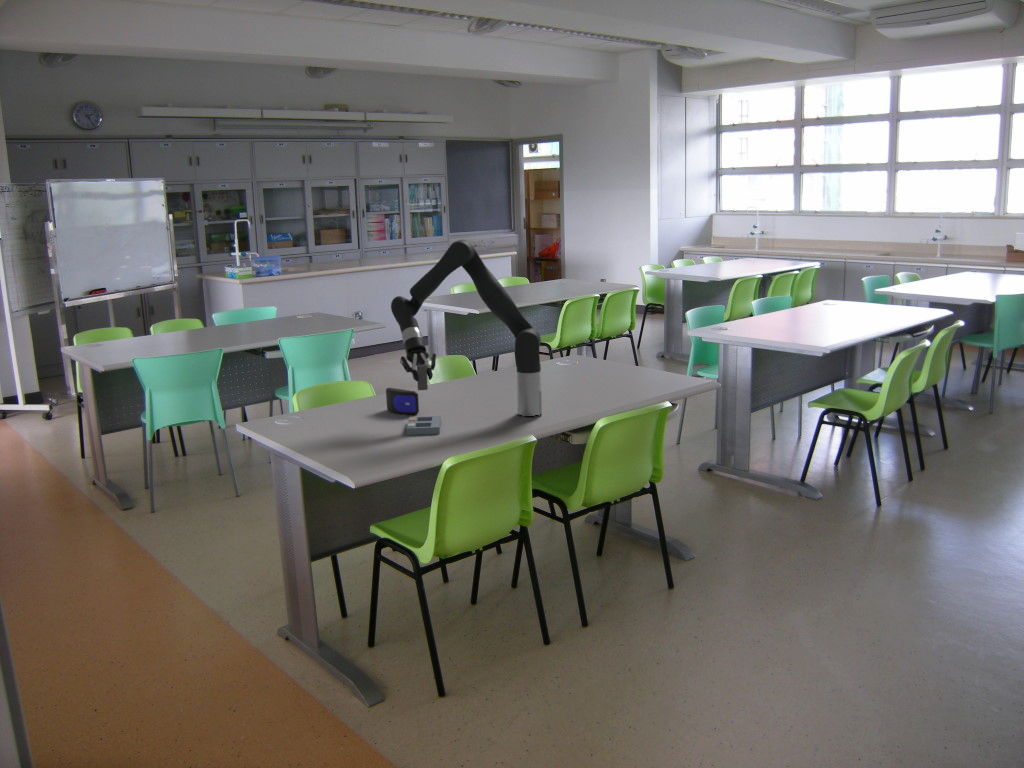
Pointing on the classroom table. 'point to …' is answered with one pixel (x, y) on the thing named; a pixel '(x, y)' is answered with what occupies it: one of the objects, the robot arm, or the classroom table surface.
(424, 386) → the dark gray upright block
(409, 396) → the leaning round-cornered charcoal block
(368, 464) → the classroom table surface
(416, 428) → the socket strip
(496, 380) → the classroom table surface
